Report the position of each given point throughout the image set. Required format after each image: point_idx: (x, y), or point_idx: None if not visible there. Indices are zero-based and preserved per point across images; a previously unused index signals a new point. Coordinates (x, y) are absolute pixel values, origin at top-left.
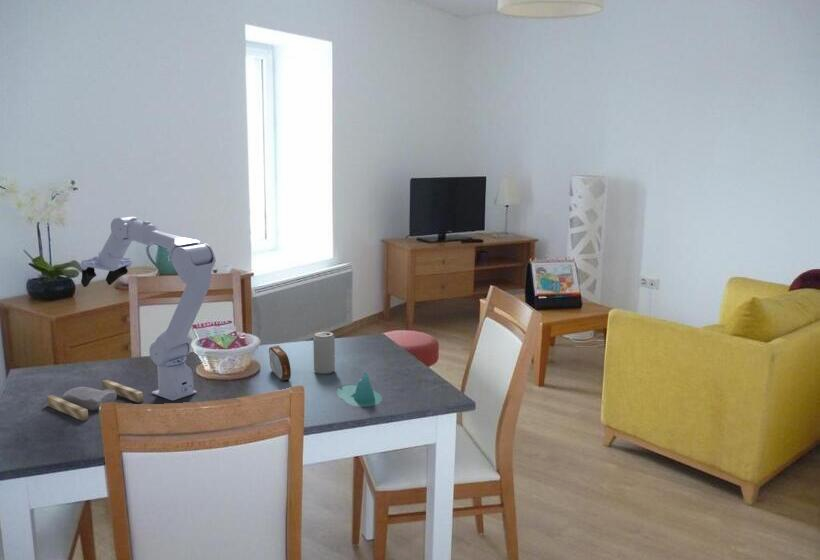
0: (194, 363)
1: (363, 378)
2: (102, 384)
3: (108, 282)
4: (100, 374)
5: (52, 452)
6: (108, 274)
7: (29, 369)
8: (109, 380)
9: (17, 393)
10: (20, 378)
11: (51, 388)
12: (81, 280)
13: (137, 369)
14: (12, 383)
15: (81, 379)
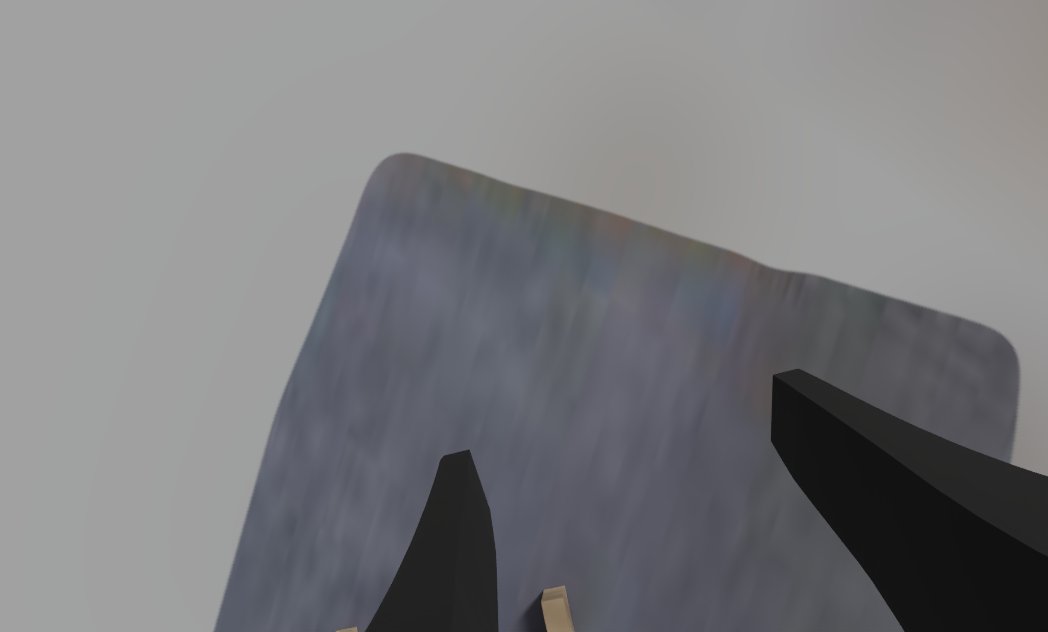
0: None
1: None
2: (542, 597)
3: (782, 434)
4: (596, 395)
5: None
6: (837, 432)
7: (413, 169)
8: (566, 619)
9: (305, 419)
10: (361, 256)
11: (405, 442)
12: (437, 478)
13: (739, 429)
14: (325, 296)
15: (520, 409)
